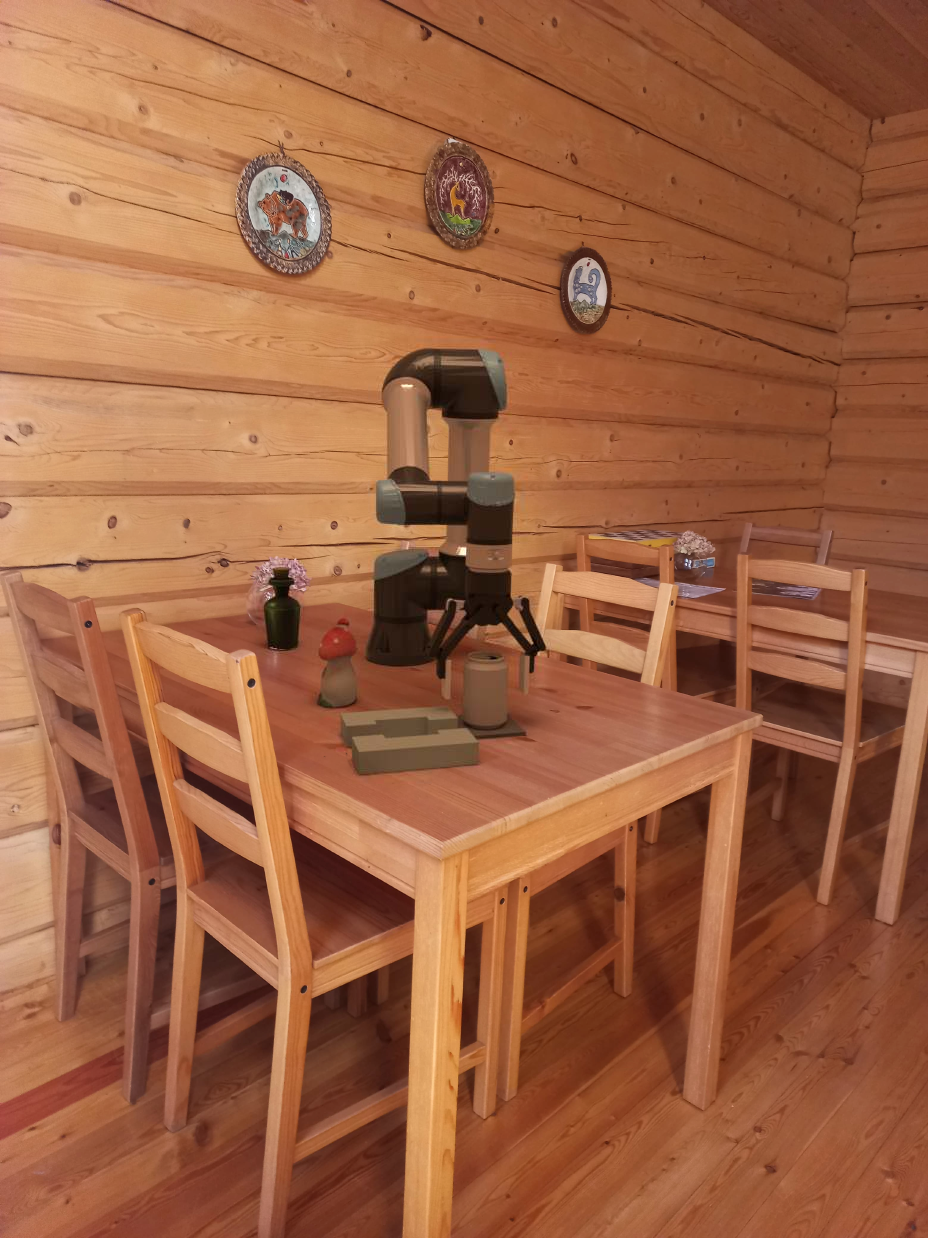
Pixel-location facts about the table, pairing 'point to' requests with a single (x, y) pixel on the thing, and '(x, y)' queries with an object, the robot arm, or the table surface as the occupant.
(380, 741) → the pocket block
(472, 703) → the can
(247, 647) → the table surface
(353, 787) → the table surface
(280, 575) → the potion bottle
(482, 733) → the coaster
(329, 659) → the decorative ornament
